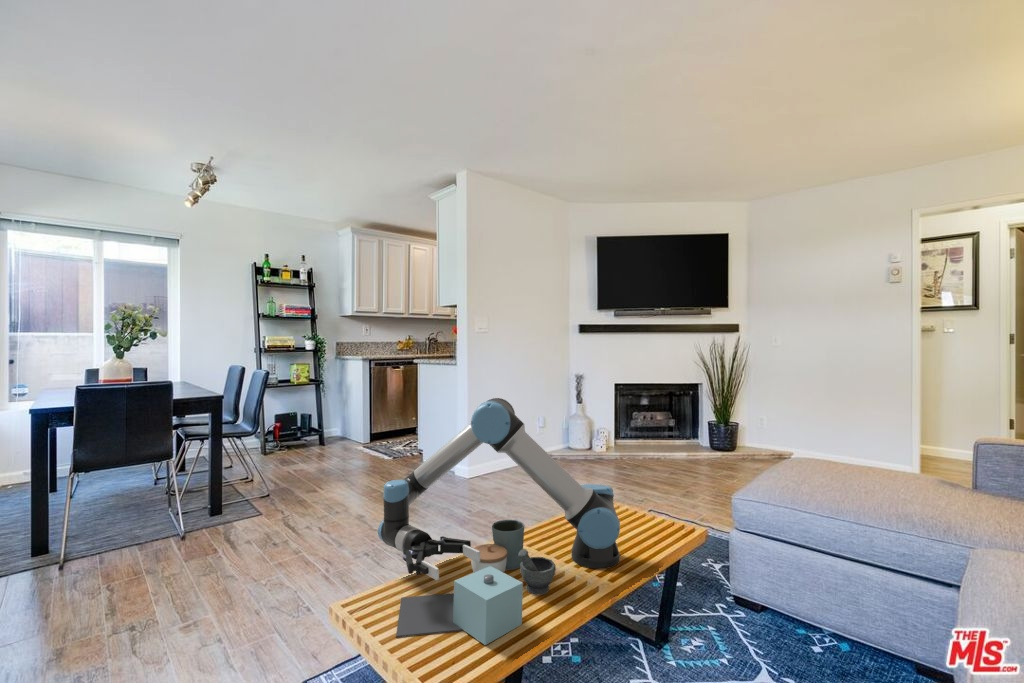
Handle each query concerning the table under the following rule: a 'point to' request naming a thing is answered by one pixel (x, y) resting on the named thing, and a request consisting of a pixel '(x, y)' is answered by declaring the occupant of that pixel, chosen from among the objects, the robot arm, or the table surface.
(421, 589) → the table surface
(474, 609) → the cover tub
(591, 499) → the robot arm
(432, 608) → the rubber mat
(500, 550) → the lidded jar
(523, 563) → the mortar and pestle
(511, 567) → the grey green cylindrical pot
